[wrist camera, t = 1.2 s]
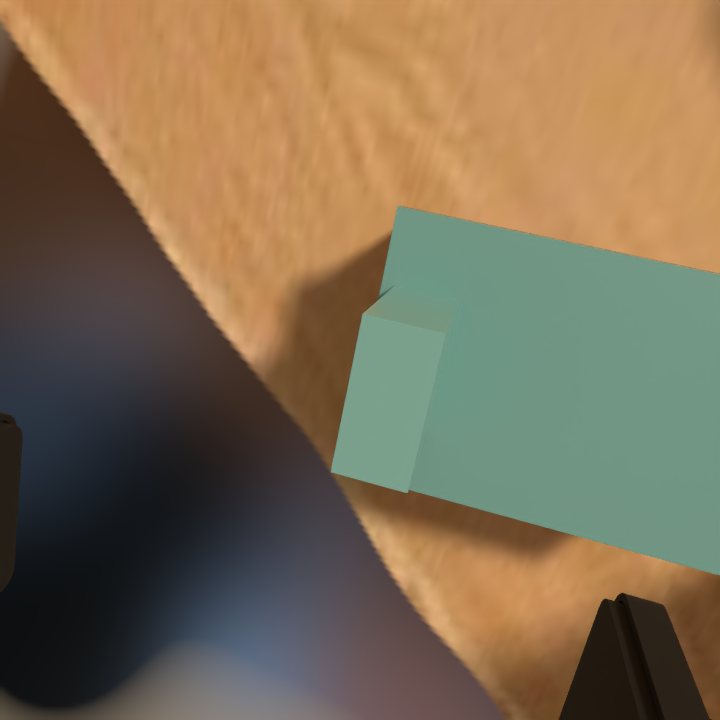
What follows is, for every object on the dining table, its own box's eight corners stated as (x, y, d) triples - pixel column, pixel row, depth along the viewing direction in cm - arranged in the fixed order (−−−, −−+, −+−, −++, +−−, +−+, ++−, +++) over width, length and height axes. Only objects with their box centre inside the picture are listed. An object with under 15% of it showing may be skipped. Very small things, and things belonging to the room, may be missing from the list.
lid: (809, 291, 23) (948, 335, 16) (707, 553, 26) (785, 690, 19) (403, 205, 25) (365, 210, 18) (351, 456, 28) (299, 547, 21)
